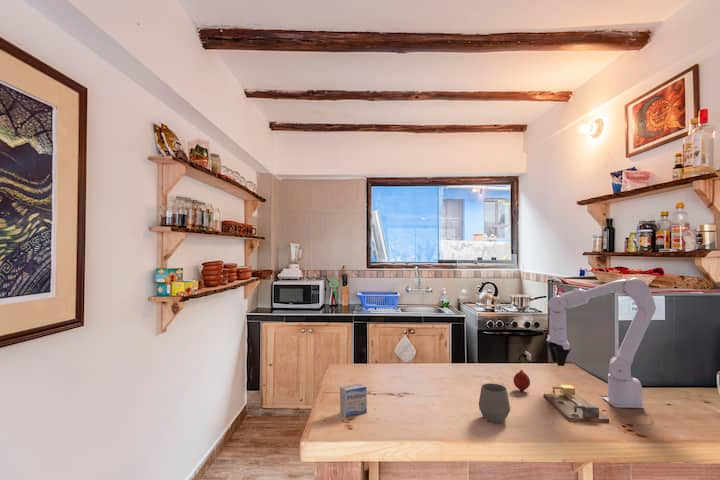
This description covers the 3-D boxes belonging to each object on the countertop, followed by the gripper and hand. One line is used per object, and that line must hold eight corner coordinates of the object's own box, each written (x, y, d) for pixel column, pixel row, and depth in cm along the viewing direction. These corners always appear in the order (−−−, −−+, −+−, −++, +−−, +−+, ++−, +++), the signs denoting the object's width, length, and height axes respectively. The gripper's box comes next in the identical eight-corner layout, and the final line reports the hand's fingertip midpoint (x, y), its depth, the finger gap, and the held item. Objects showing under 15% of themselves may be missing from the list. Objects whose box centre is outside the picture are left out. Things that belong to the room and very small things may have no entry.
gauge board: (577, 397, 140) (577, 386, 141) (609, 422, 120) (609, 409, 121) (543, 396, 141) (543, 385, 141) (569, 421, 121) (569, 408, 121)
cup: (506, 428, 116) (506, 395, 117) (475, 421, 121) (475, 389, 122) (512, 417, 124) (512, 385, 125) (483, 410, 129) (482, 380, 130)
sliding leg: (571, 392, 140) (570, 385, 140) (575, 395, 137) (575, 388, 137) (550, 391, 141) (550, 384, 141) (554, 394, 138) (554, 387, 138)
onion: (531, 394, 143) (531, 372, 143) (515, 393, 144) (515, 371, 145) (528, 388, 149) (528, 367, 149) (512, 387, 150) (512, 366, 150)
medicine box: (345, 418, 124) (345, 390, 124) (339, 412, 128) (339, 386, 128) (367, 413, 128) (367, 386, 128) (360, 408, 132) (360, 382, 132)
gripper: (539, 323, 154) (539, 358, 153) (555, 331, 139) (555, 369, 139) (557, 323, 153) (558, 358, 153) (575, 332, 139) (576, 370, 138)
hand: (558, 363), depth 146 cm, fingers open, 4 cm apart
